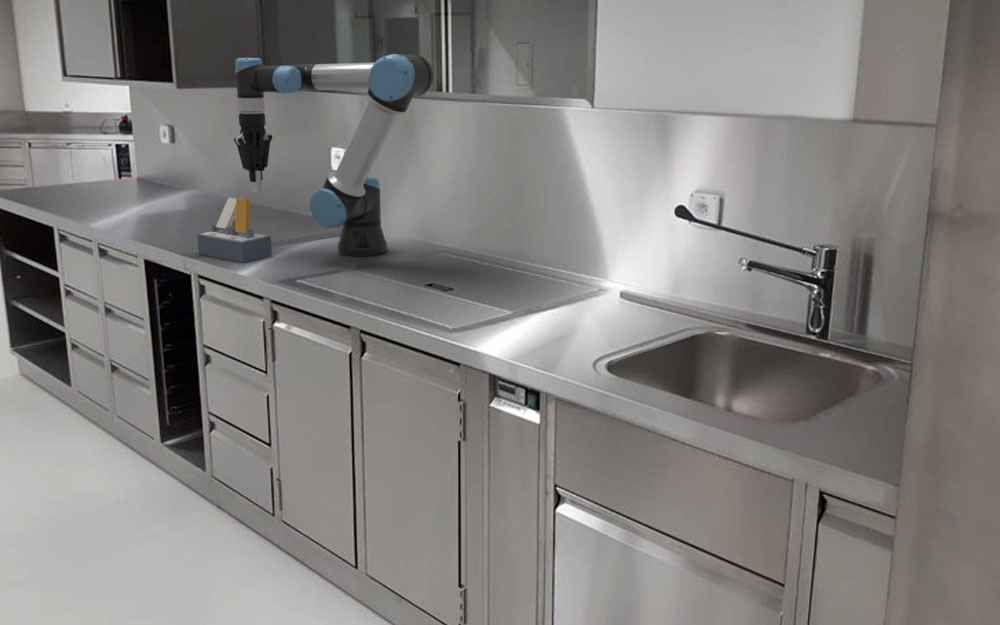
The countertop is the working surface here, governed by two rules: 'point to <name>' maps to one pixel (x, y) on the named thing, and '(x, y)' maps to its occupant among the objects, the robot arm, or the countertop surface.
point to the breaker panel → (234, 245)
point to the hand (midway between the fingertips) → (256, 192)
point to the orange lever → (242, 216)
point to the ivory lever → (227, 215)
